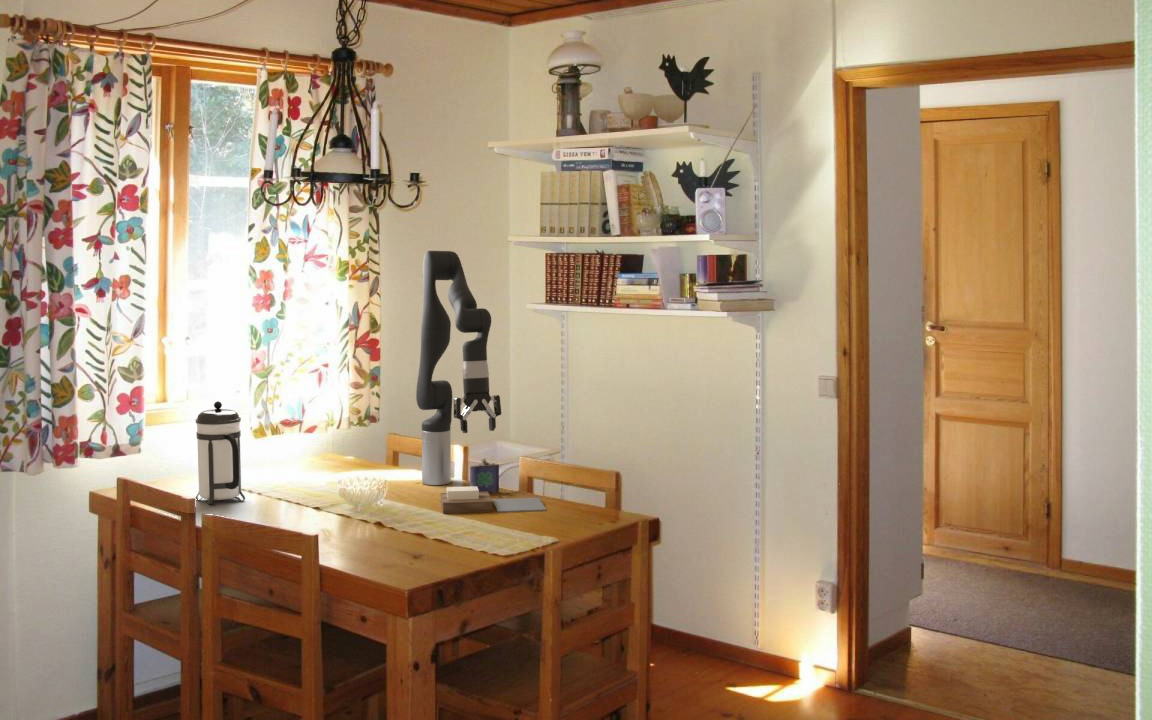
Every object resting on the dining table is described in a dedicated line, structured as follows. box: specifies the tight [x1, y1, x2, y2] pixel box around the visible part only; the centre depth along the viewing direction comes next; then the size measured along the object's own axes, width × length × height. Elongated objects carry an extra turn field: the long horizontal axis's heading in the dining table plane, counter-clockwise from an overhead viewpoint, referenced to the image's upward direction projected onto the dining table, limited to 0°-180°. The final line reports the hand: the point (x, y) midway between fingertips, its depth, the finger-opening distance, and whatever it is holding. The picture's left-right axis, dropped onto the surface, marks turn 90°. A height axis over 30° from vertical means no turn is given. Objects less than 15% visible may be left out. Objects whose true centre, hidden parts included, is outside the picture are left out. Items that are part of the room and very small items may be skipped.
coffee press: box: [194, 401, 246, 506], centre depth 327 cm, size 17×16×30 cm
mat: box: [492, 497, 547, 513], centre depth 324 cm, size 16×14×1 cm
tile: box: [445, 485, 479, 500], centre depth 321 cm, size 6×9×2 cm, turn 100°
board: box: [440, 491, 493, 514], centre depth 322 cm, size 14×14×3 cm
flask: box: [469, 458, 500, 495], centre depth 341 cm, size 9×3×11 cm, turn 109°
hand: (478, 431), depth 322 cm, fingers open, 8 cm apart
